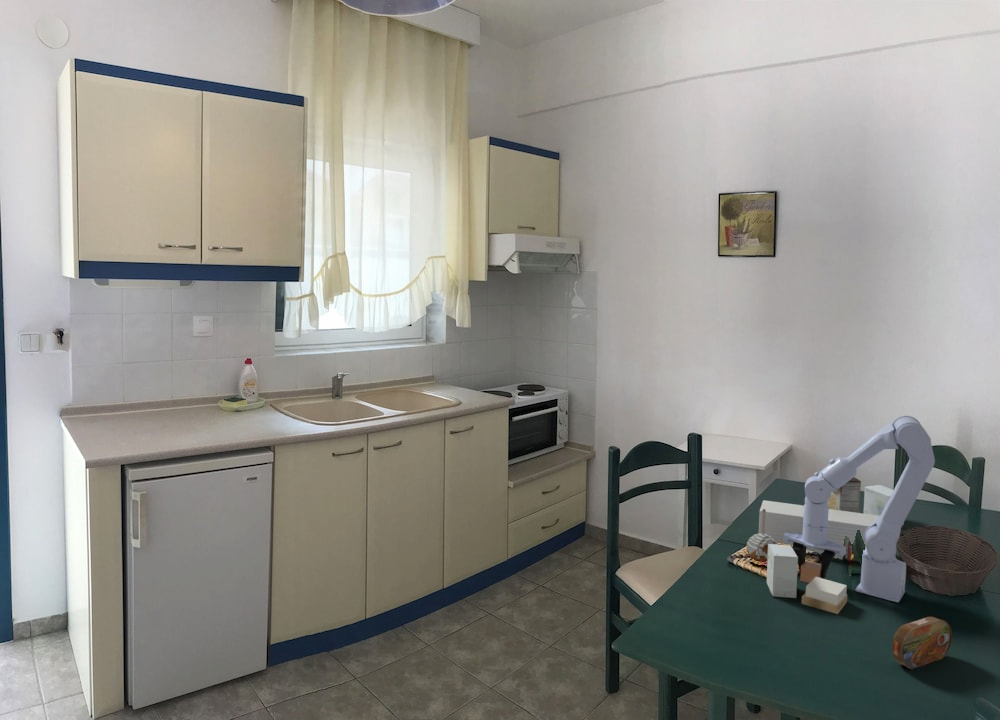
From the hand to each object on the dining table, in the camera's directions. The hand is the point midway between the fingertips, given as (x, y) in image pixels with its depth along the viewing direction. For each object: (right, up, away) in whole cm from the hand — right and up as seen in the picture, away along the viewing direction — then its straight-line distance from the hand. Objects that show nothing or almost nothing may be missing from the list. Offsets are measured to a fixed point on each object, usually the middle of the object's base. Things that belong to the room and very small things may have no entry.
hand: (812, 575), depth 175 cm
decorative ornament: (-9, 0, +12) cm, 14 cm away
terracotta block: (0, -1, 0) cm, 1 cm away
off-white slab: (-2, -1, -12) cm, 13 cm away
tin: (+5, -6, -37) cm, 38 cm away
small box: (-10, -2, -6) cm, 12 cm away
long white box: (+12, 0, +21) cm, 24 cm away
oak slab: (-3, -4, -12) cm, 13 cm away
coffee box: (+27, +3, +39) cm, 47 cm away
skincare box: (+42, +3, +43) cm, 60 cm away
